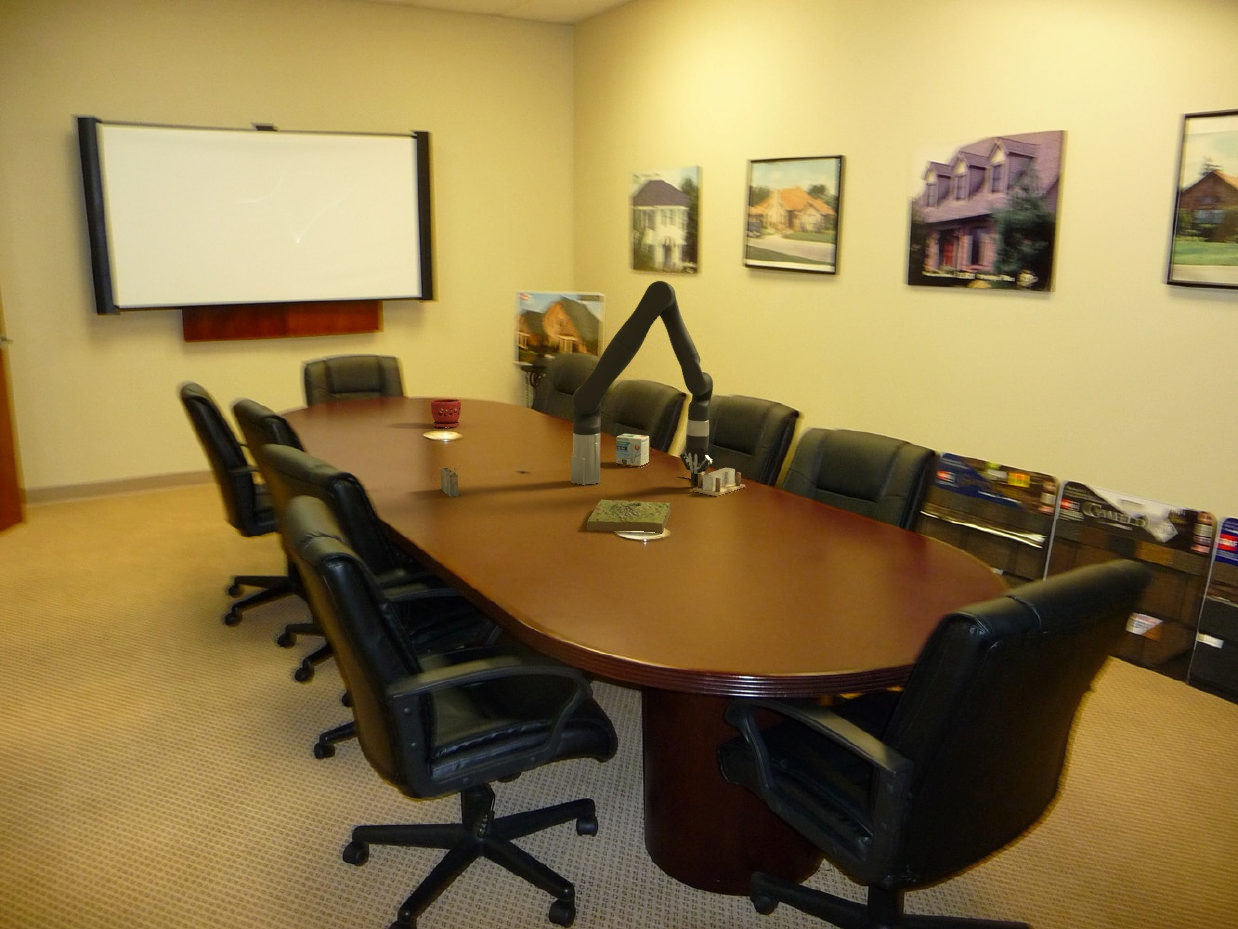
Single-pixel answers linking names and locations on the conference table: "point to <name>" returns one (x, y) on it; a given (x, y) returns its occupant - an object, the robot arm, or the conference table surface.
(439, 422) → the plant pot
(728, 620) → the conference table surface
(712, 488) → the grey rectangular block
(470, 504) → the conference table surface
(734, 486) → the peg rack
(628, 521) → the miniature landscape model
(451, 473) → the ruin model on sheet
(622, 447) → the light bulb box
